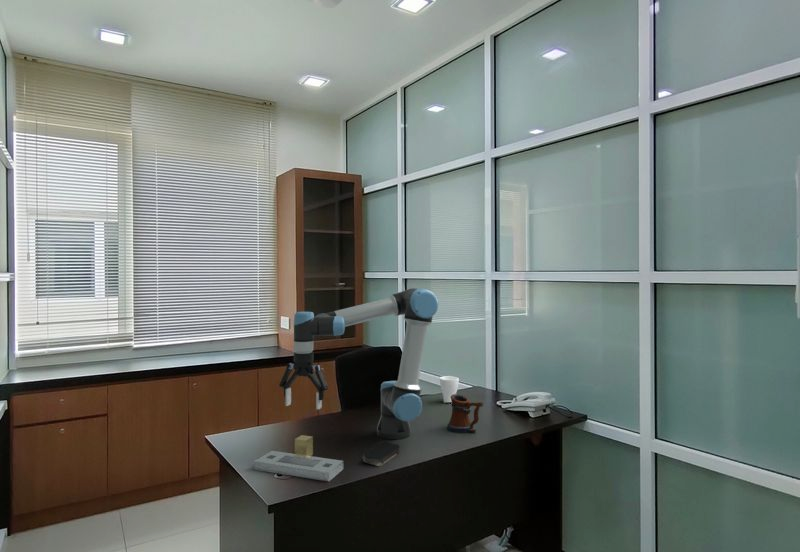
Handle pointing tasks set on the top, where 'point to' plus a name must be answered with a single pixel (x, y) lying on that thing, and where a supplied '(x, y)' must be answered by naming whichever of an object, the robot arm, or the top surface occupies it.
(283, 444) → the top surface
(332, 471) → the rail
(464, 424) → the mug
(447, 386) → the cup
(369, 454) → the black sponge
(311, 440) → the yellow block
